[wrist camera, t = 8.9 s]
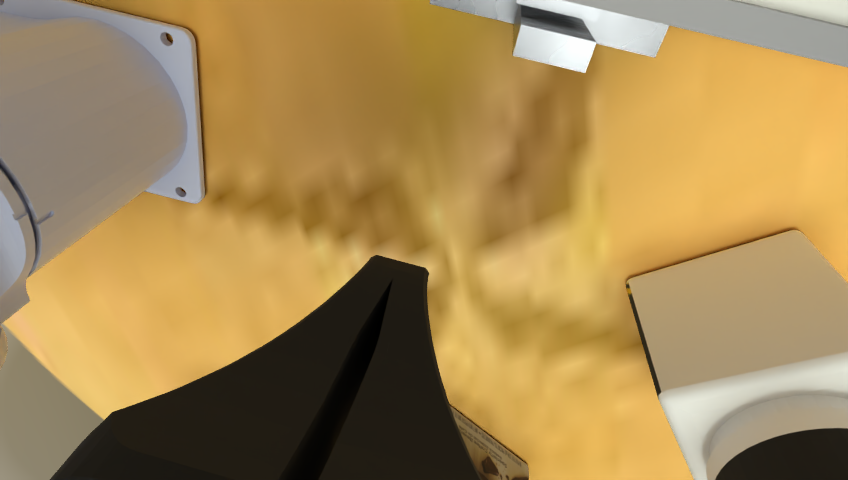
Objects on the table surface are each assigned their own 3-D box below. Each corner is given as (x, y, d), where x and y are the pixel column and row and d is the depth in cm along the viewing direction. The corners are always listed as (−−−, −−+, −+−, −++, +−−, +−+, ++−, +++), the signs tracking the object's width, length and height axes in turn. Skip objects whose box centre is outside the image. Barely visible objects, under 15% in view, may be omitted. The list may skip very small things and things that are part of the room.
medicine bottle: (622, 277, 23) (700, 547, 13) (799, 223, 21) (1059, 512, 11) (665, 379, 26) (755, 663, 16) (824, 344, 24) (1049, 658, 14)
